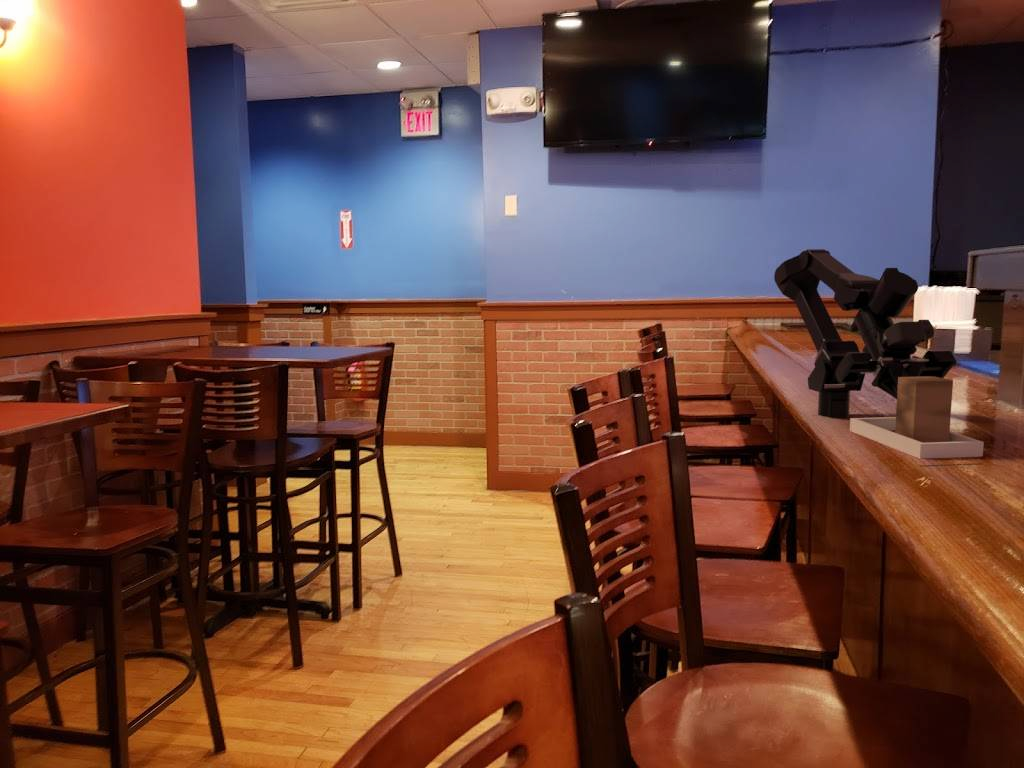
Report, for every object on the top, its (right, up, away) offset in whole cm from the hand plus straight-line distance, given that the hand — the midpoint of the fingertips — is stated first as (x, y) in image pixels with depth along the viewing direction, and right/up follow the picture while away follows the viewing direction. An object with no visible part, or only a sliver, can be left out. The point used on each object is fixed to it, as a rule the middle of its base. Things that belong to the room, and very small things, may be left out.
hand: (913, 407), depth 128 cm
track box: (0, -7, +1) cm, 7 cm away
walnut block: (0, -6, -2) cm, 6 cm away
